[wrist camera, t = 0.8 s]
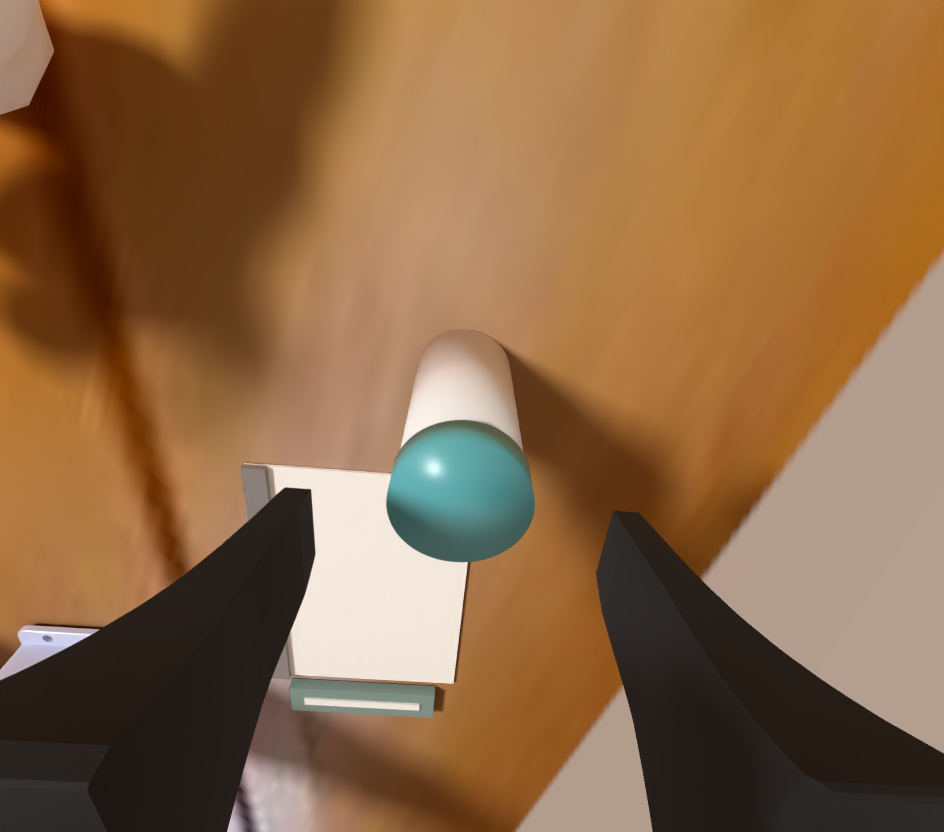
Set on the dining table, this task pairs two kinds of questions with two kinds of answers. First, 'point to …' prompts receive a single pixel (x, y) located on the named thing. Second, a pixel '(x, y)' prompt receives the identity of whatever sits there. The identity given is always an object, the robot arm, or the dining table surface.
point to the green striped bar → (362, 697)
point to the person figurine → (22, 52)
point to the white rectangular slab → (364, 584)
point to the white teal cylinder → (461, 455)
